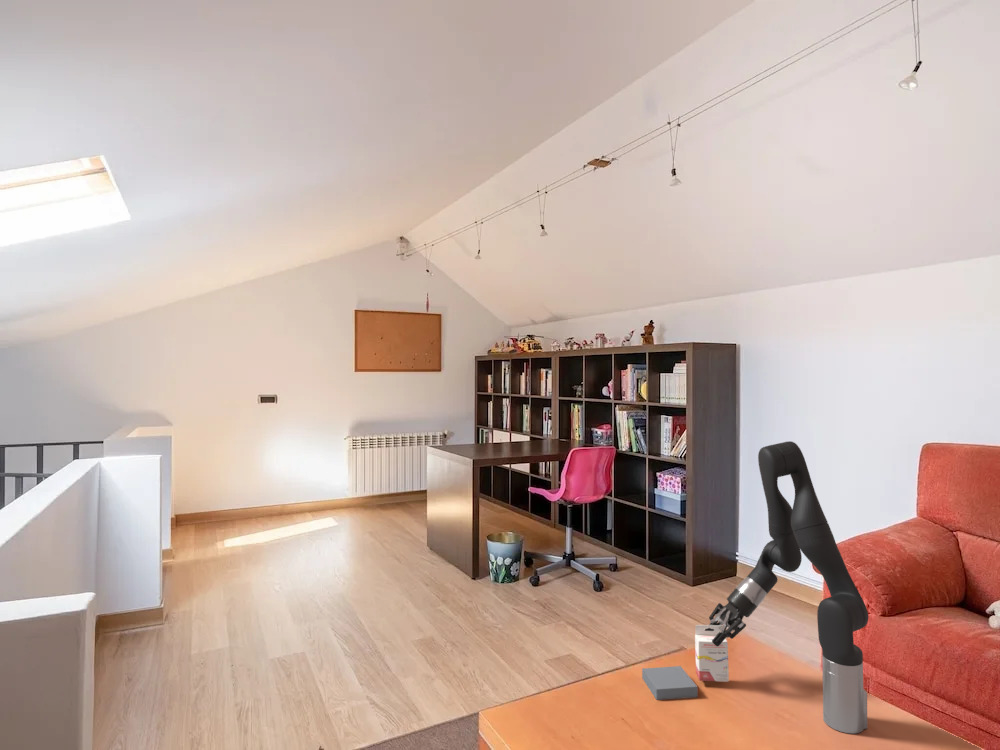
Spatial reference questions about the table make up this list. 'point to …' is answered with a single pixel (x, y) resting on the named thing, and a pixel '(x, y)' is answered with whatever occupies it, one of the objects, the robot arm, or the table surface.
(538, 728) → the table surface
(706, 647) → the ink cartridge box
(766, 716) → the table surface
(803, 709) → the table surface
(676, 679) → the slate plate
